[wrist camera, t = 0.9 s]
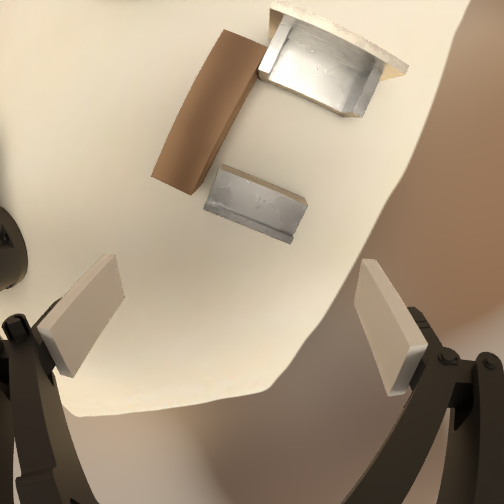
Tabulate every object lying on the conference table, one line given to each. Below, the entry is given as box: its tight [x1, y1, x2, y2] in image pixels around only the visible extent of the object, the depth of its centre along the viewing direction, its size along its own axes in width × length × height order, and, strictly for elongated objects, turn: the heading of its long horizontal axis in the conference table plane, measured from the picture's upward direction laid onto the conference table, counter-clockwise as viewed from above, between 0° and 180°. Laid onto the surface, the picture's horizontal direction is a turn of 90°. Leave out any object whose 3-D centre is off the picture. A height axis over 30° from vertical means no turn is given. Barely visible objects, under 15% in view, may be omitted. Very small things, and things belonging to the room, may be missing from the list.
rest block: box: [203, 164, 308, 244], centre depth 33 cm, size 10×4×4 cm, turn 67°
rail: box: [151, 30, 268, 195], centre depth 28 cm, size 4×16×6 cm, turn 152°
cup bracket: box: [258, 0, 409, 117], centre depth 23 cm, size 12×6×10 cm, turn 67°
